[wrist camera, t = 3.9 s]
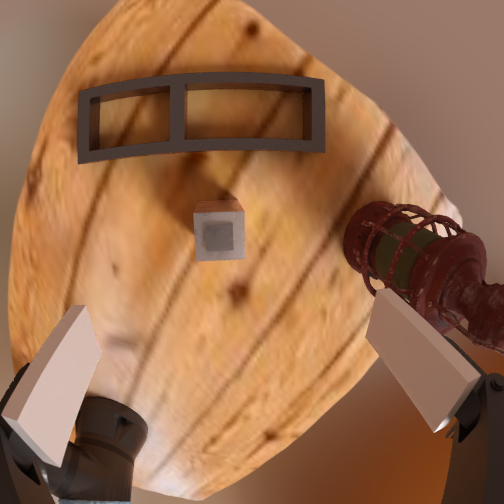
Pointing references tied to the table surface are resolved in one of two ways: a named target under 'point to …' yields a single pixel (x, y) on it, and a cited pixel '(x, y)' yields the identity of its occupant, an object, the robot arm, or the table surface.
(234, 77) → the dark grey divided frame
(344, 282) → the table surface
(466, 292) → the lantern
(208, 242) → the block
